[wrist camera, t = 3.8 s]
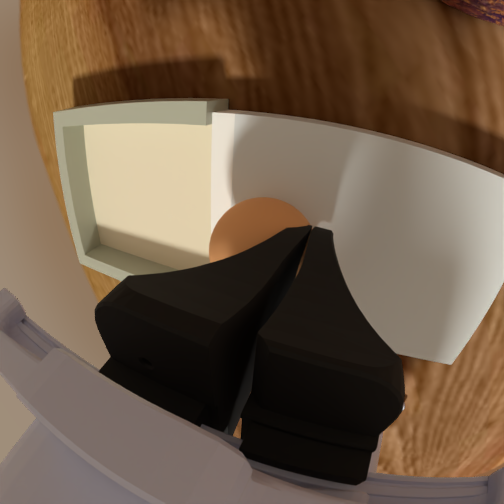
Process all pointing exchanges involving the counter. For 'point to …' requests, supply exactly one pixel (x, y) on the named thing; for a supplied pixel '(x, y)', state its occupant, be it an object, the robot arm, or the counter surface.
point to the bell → (481, 9)
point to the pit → (138, 183)
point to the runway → (378, 219)
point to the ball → (252, 226)
